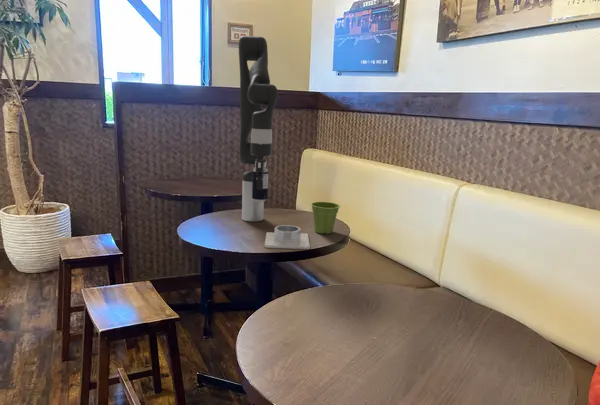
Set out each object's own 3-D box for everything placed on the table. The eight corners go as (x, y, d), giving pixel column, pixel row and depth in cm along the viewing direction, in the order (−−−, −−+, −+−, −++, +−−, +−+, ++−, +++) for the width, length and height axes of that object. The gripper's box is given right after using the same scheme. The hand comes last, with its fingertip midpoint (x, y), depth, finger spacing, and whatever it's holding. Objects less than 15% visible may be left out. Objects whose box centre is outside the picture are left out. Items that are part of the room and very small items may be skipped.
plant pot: (334, 237, 177) (336, 209, 174) (305, 233, 180) (306, 205, 178) (341, 230, 188) (343, 203, 185) (314, 226, 191) (315, 200, 189)
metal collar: (266, 234, 176) (266, 222, 175) (307, 236, 177) (308, 223, 176) (264, 247, 160) (265, 234, 159) (309, 249, 161) (310, 235, 160)
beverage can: (268, 199, 169) (269, 167, 166) (265, 202, 163) (266, 169, 161) (253, 198, 169) (254, 166, 167) (250, 201, 164) (251, 168, 161)
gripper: (252, 139, 169) (251, 184, 172) (248, 142, 154) (247, 191, 158) (272, 140, 169) (271, 185, 172) (270, 143, 155) (269, 192, 158)
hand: (260, 188), depth 165 cm, fingers closed on beverage can, 5 cm apart
